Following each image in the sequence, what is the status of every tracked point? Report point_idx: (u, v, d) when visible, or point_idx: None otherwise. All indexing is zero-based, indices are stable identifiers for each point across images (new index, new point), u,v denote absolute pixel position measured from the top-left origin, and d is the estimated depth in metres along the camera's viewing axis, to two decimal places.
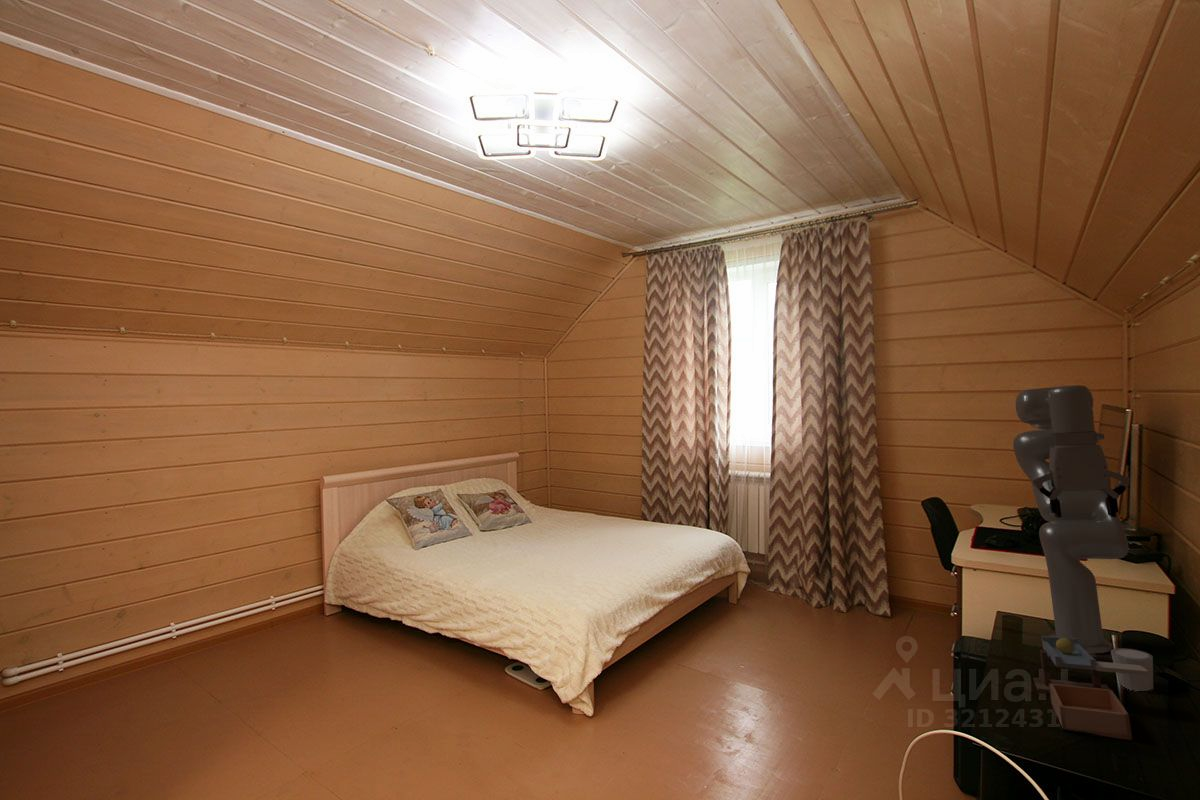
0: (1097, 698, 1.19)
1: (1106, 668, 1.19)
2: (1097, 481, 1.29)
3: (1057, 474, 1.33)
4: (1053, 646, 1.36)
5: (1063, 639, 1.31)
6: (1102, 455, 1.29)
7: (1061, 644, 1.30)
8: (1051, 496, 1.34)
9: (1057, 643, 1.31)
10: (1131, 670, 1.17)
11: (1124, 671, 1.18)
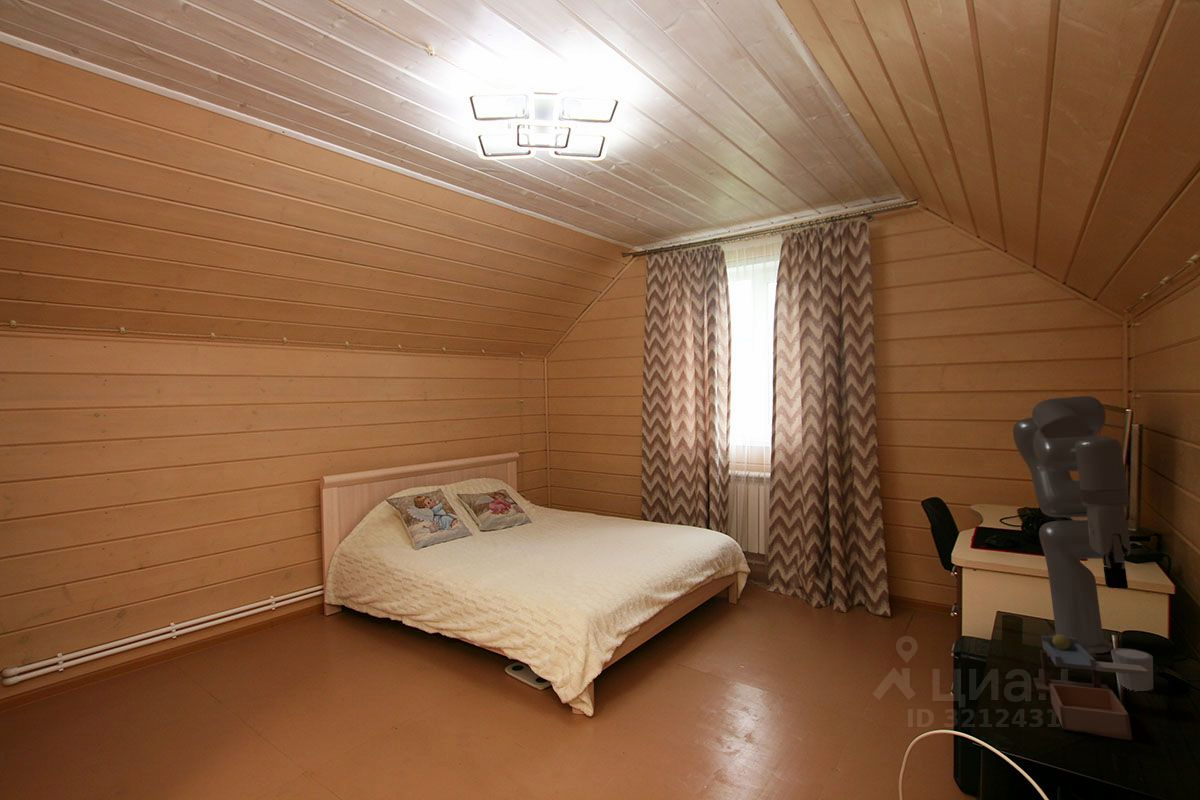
0: (1097, 698, 1.19)
1: (1106, 668, 1.19)
2: None
3: (1128, 537, 1.17)
4: (1053, 646, 1.36)
5: None
6: None
7: None
8: None
9: None
10: (1131, 670, 1.17)
11: (1124, 671, 1.18)
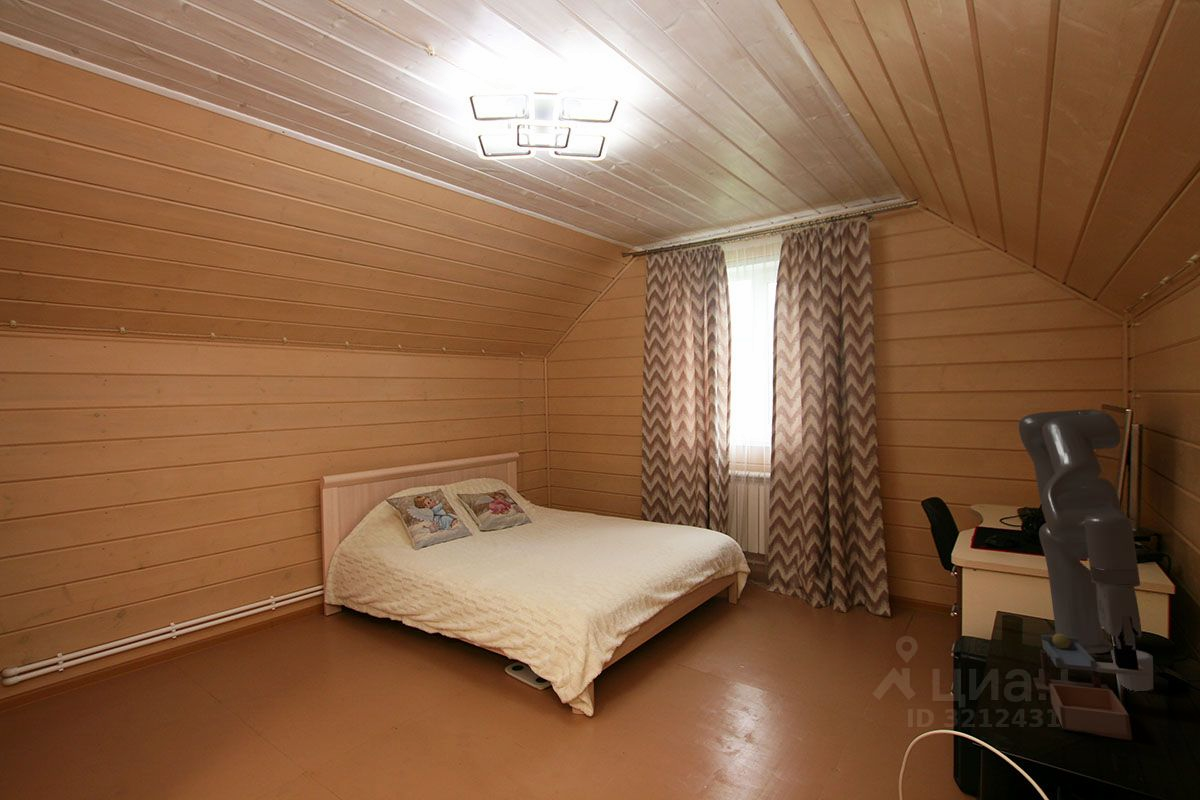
0: (1097, 698, 1.19)
1: (1106, 669, 1.19)
2: None
3: (1139, 619, 1.15)
4: (1053, 645, 1.36)
5: None
6: None
7: None
8: None
9: None
10: (1131, 671, 1.17)
11: (1124, 672, 1.18)
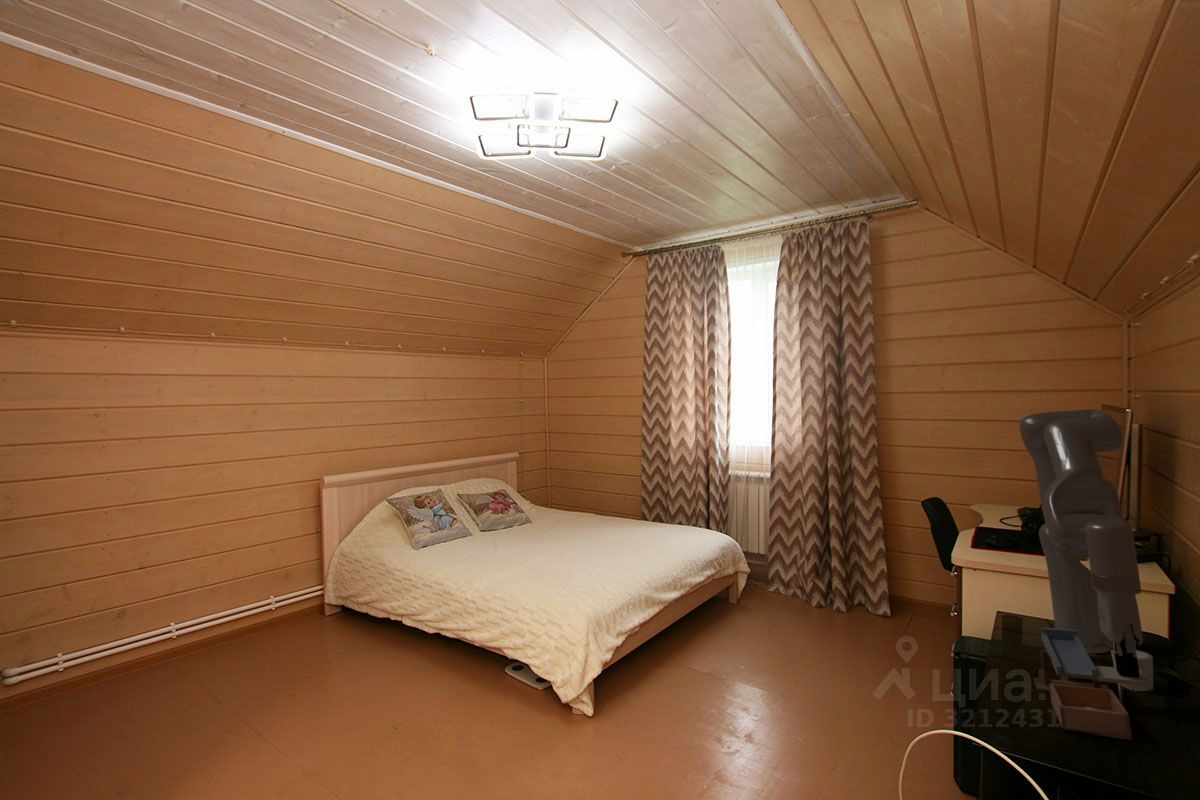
0: (1097, 698, 1.19)
1: (1108, 679, 1.19)
2: None
3: (1140, 626, 1.15)
4: (1052, 638, 1.36)
5: None
6: None
7: None
8: None
9: None
10: (1133, 681, 1.17)
11: (1125, 682, 1.17)
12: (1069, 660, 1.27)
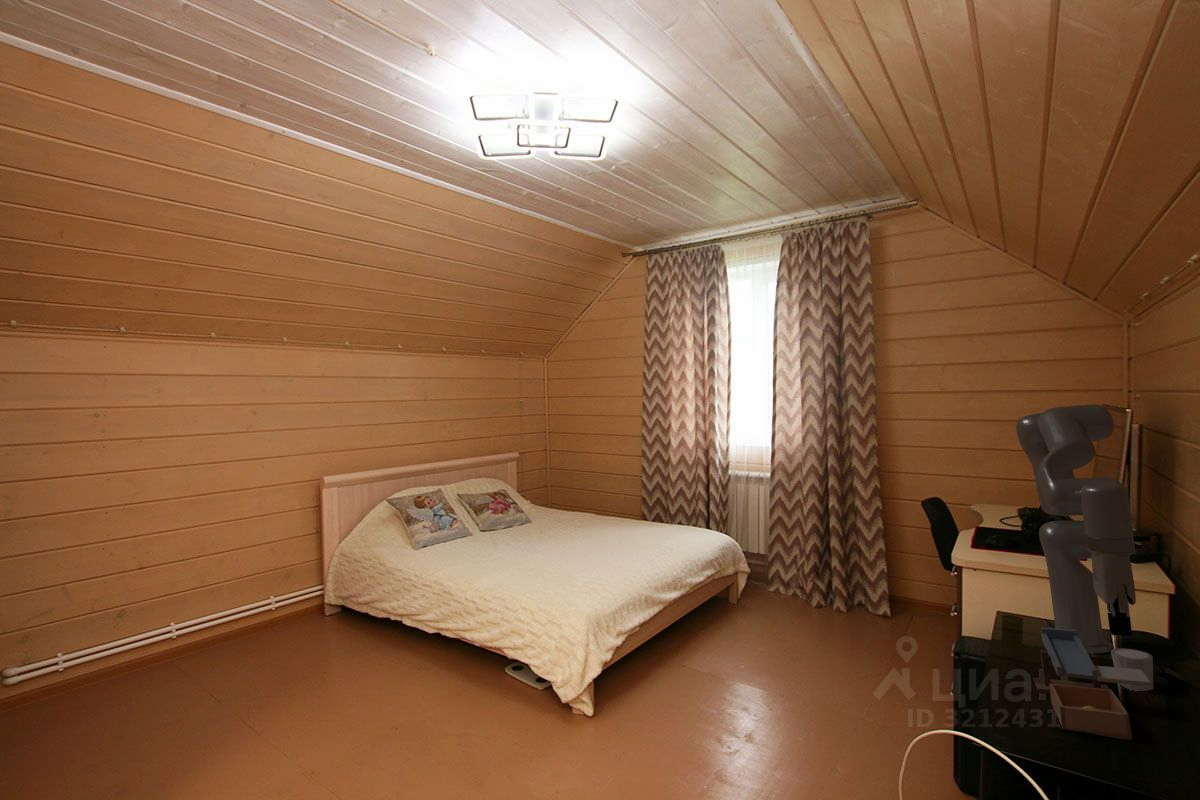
0: (1097, 698, 1.19)
1: (1108, 679, 1.19)
2: None
3: None
4: (1052, 638, 1.36)
5: (1089, 707, 1.13)
6: None
7: None
8: None
9: None
10: (1133, 681, 1.17)
11: (1125, 682, 1.17)
12: (1069, 660, 1.27)
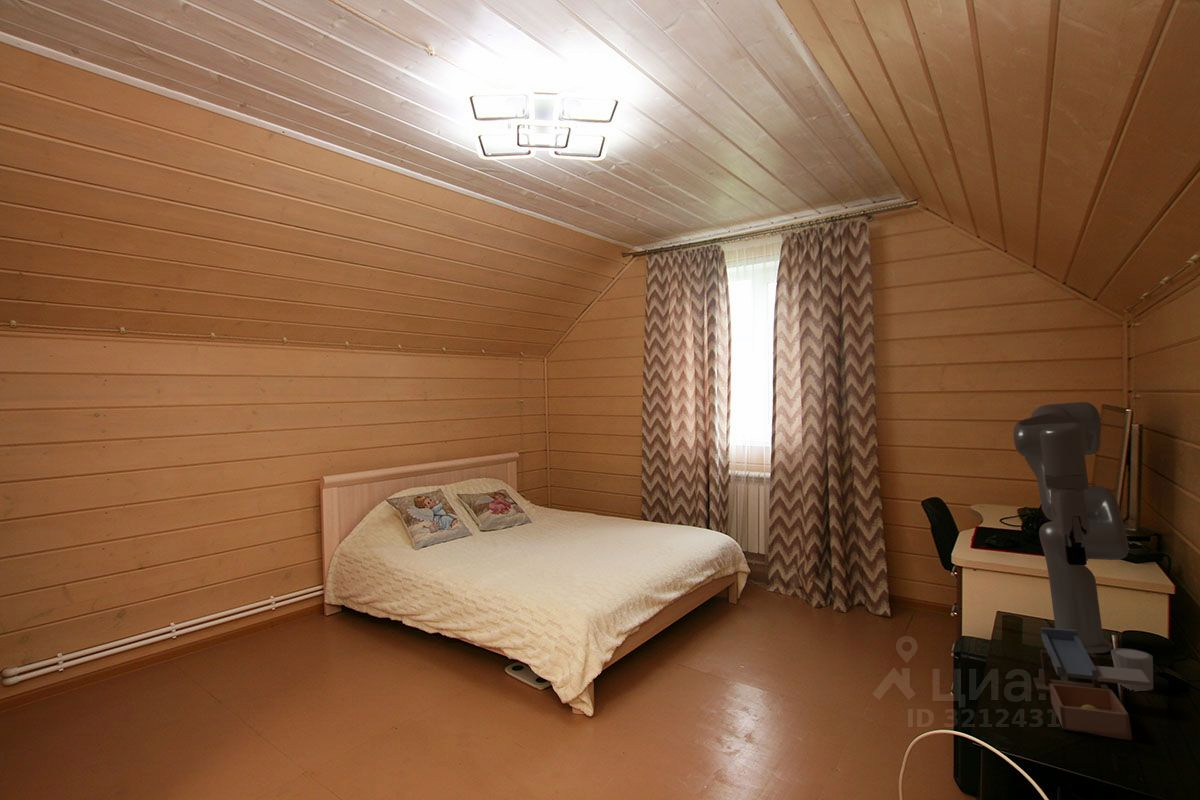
0: (1097, 698, 1.19)
1: (1108, 679, 1.19)
2: None
3: (1087, 518, 1.27)
4: (1052, 638, 1.36)
5: (1087, 705, 1.14)
6: None
7: None
8: None
9: None
10: (1133, 681, 1.17)
11: (1125, 682, 1.17)
12: (1069, 660, 1.27)
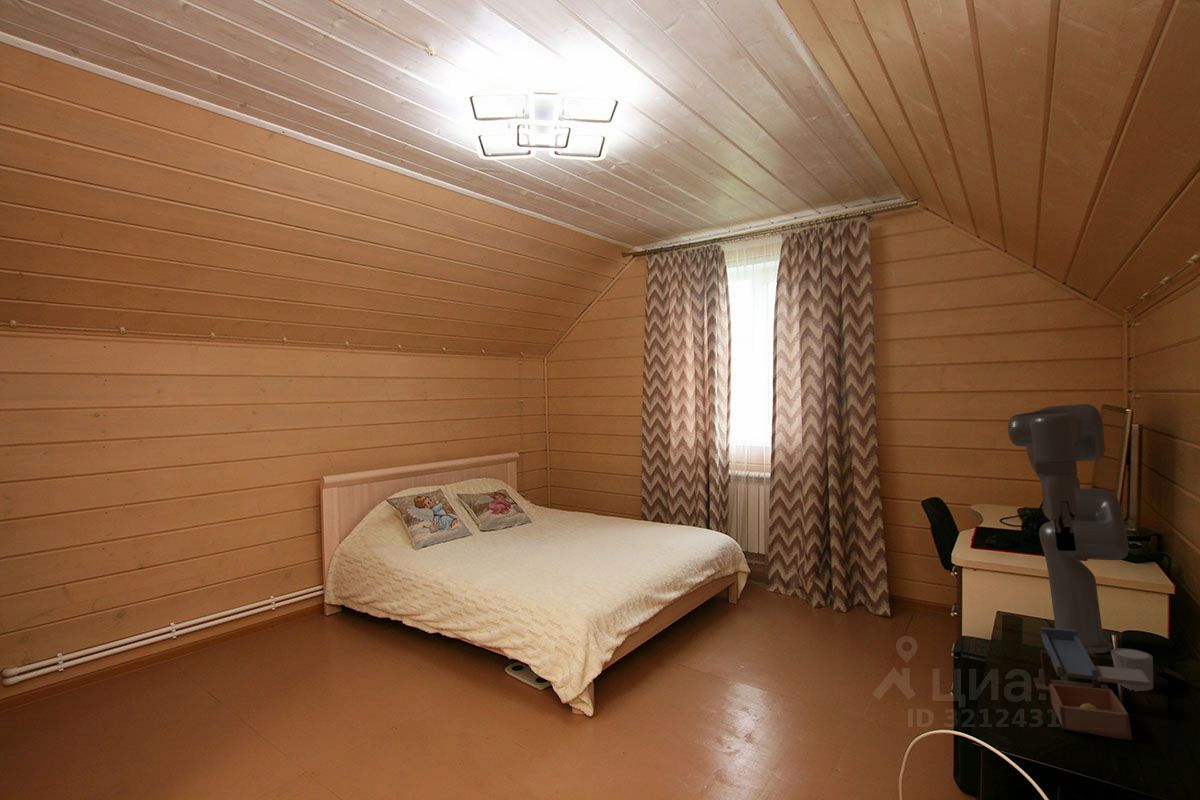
0: (1097, 698, 1.19)
1: (1108, 679, 1.19)
2: None
3: (1075, 503, 1.30)
4: (1052, 638, 1.36)
5: None
6: None
7: (1084, 706, 1.14)
8: None
9: (1080, 707, 1.15)
10: (1133, 681, 1.17)
11: (1125, 682, 1.17)
12: (1069, 660, 1.27)
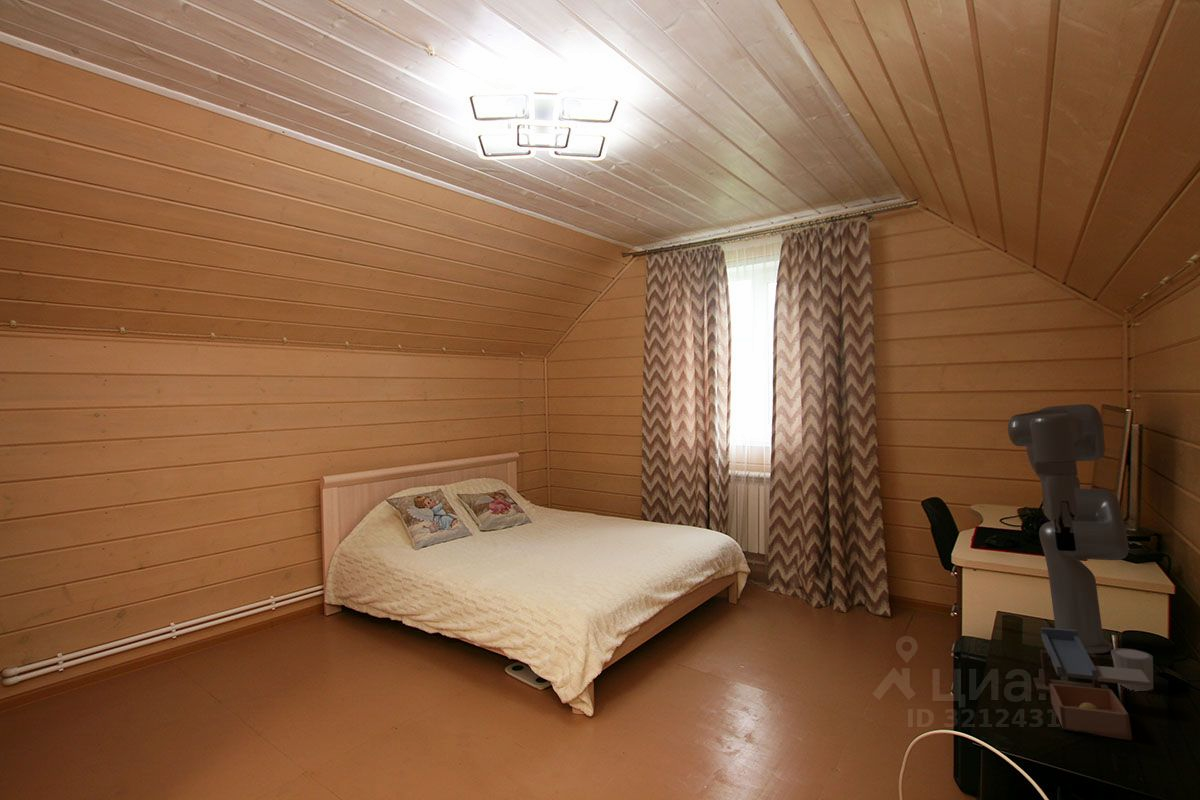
0: (1097, 698, 1.19)
1: (1108, 679, 1.19)
2: None
3: (1075, 503, 1.30)
4: (1052, 638, 1.36)
5: None
6: None
7: (1083, 704, 1.15)
8: None
9: (1079, 706, 1.15)
10: (1133, 681, 1.17)
11: (1125, 682, 1.17)
12: (1069, 660, 1.27)
